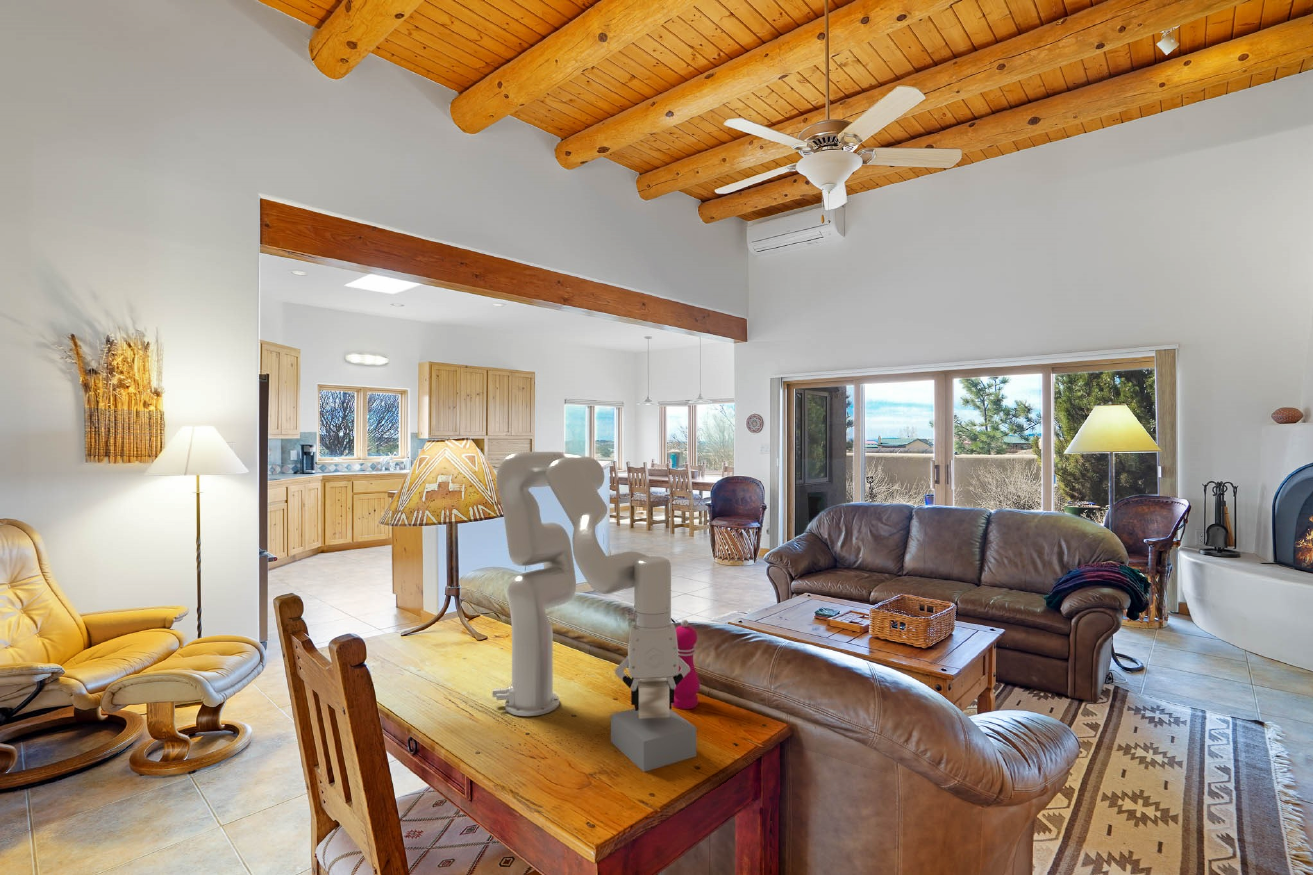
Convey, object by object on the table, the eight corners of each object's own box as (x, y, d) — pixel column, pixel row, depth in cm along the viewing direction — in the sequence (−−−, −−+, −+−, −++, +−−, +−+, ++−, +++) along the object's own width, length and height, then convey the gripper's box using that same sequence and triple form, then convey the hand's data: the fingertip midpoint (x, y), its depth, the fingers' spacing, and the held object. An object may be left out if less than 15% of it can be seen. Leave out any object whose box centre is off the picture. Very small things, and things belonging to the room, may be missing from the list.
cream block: (639, 718, 125) (639, 688, 125) (636, 706, 130) (636, 677, 131) (669, 717, 125) (669, 686, 125) (665, 704, 131) (665, 675, 131)
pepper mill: (690, 712, 145) (690, 625, 145) (663, 705, 149) (663, 621, 149) (705, 701, 151) (705, 618, 151) (679, 695, 155) (679, 614, 155)
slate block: (643, 773, 119) (643, 741, 119) (610, 743, 131) (610, 714, 131) (696, 757, 125) (696, 727, 125) (660, 729, 137) (660, 702, 137)
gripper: (611, 625, 123) (611, 717, 123) (697, 622, 125) (697, 713, 125) (609, 615, 131) (609, 701, 131) (691, 612, 133) (691, 698, 133)
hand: (652, 706), depth 128 cm, fingers closed on cream block, 6 cm apart
